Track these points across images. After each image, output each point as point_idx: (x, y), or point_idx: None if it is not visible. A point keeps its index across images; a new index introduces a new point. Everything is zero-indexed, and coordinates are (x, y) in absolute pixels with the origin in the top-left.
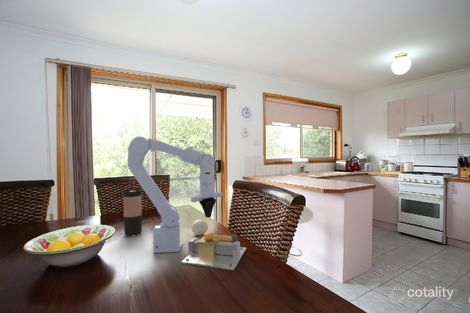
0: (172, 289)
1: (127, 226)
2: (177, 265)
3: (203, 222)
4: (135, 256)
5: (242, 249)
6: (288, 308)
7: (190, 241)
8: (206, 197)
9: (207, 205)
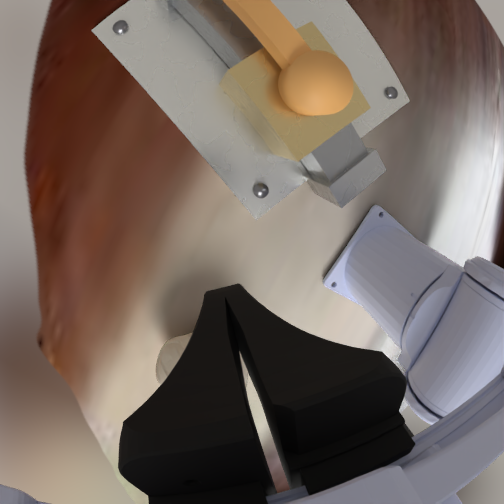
0: (450, 11)
1: (405, 424)
2: (417, 99)
3: None
4: (455, 259)
5: (120, 19)
6: None
7: (380, 160)
8: (456, 447)
9: (335, 344)
